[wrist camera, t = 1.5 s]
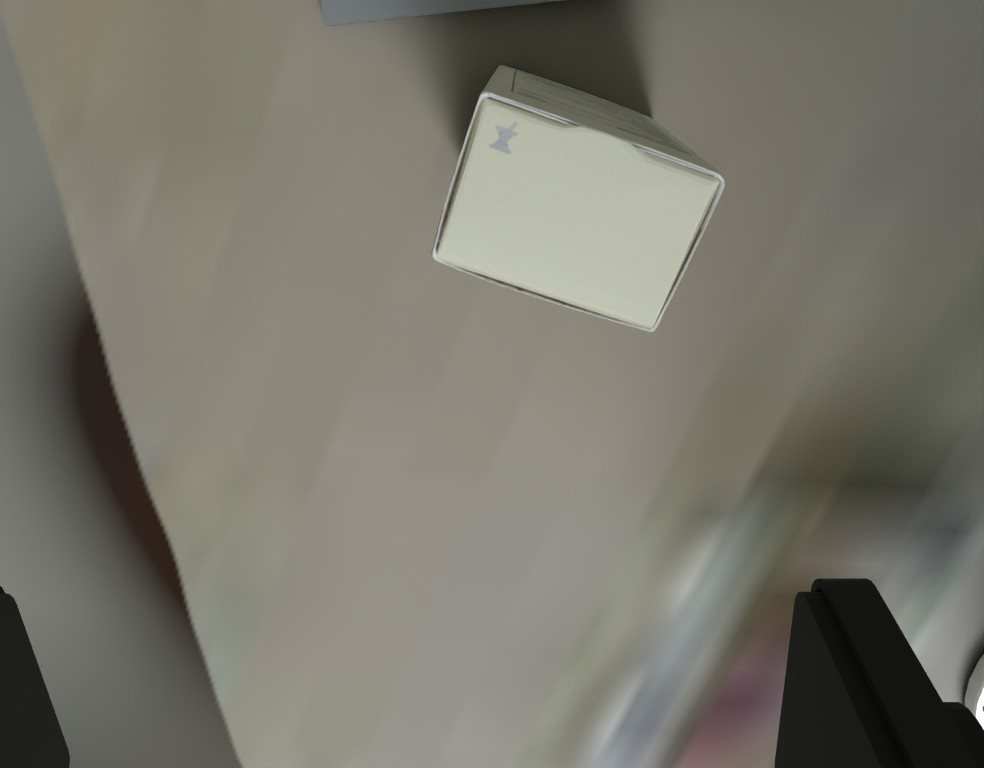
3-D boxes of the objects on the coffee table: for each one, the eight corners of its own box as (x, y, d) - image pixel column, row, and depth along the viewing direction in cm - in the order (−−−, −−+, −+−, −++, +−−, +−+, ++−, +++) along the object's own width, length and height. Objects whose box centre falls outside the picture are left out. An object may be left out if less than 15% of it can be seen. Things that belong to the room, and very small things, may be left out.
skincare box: (462, 175, 31) (413, 259, 20) (498, 60, 29) (467, 81, 18) (619, 231, 32) (657, 343, 20) (664, 120, 30) (732, 177, 19)
